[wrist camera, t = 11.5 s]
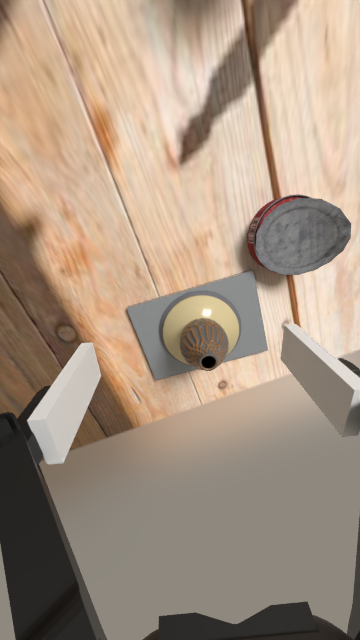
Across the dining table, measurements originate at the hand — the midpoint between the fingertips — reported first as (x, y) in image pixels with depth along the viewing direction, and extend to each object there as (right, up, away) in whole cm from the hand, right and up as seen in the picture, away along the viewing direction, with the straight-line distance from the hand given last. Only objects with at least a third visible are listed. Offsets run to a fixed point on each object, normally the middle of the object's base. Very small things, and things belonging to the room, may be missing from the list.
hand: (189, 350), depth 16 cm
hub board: (+3, +1, +23) cm, 23 cm away
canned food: (+14, +14, +18) cm, 27 cm away
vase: (+3, 0, +21) cm, 21 cm away
